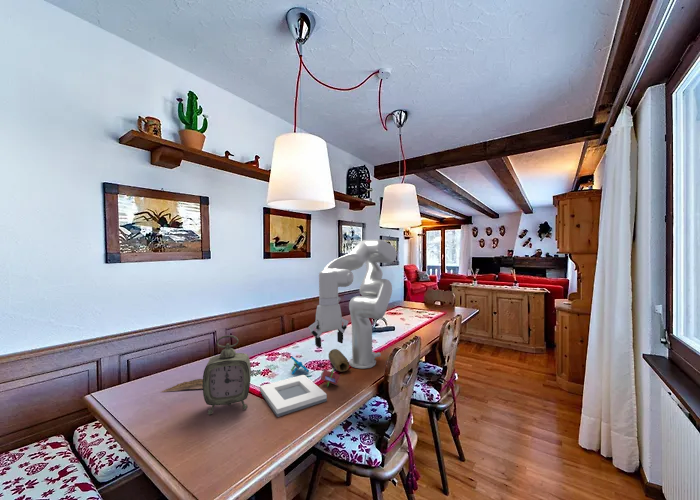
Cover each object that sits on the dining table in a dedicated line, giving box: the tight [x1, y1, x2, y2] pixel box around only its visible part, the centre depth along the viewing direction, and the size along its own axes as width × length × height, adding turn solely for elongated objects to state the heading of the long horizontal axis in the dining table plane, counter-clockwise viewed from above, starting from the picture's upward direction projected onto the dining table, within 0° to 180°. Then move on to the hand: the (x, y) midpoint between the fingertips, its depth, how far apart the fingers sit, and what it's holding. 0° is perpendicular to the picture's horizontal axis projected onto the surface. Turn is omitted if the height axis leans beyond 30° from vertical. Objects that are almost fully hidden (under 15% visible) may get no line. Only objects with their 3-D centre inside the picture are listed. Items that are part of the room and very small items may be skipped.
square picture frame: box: [259, 374, 328, 418], centre depth 108 cm, size 18×20×2 cm
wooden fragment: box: [161, 378, 203, 393], centre depth 119 cm, size 26×11×1 cm, turn 109°
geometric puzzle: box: [320, 366, 341, 389], centre depth 117 cm, size 7×7×8 cm
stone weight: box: [328, 348, 350, 373], centre depth 135 cm, size 15×7×7 cm, turn 24°
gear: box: [290, 356, 310, 375], centre depth 129 cm, size 11×6×10 cm
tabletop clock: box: [202, 334, 252, 416], centre depth 101 cm, size 14×9×25 cm, turn 105°
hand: (329, 344), depth 117 cm, fingers open, 9 cm apart
